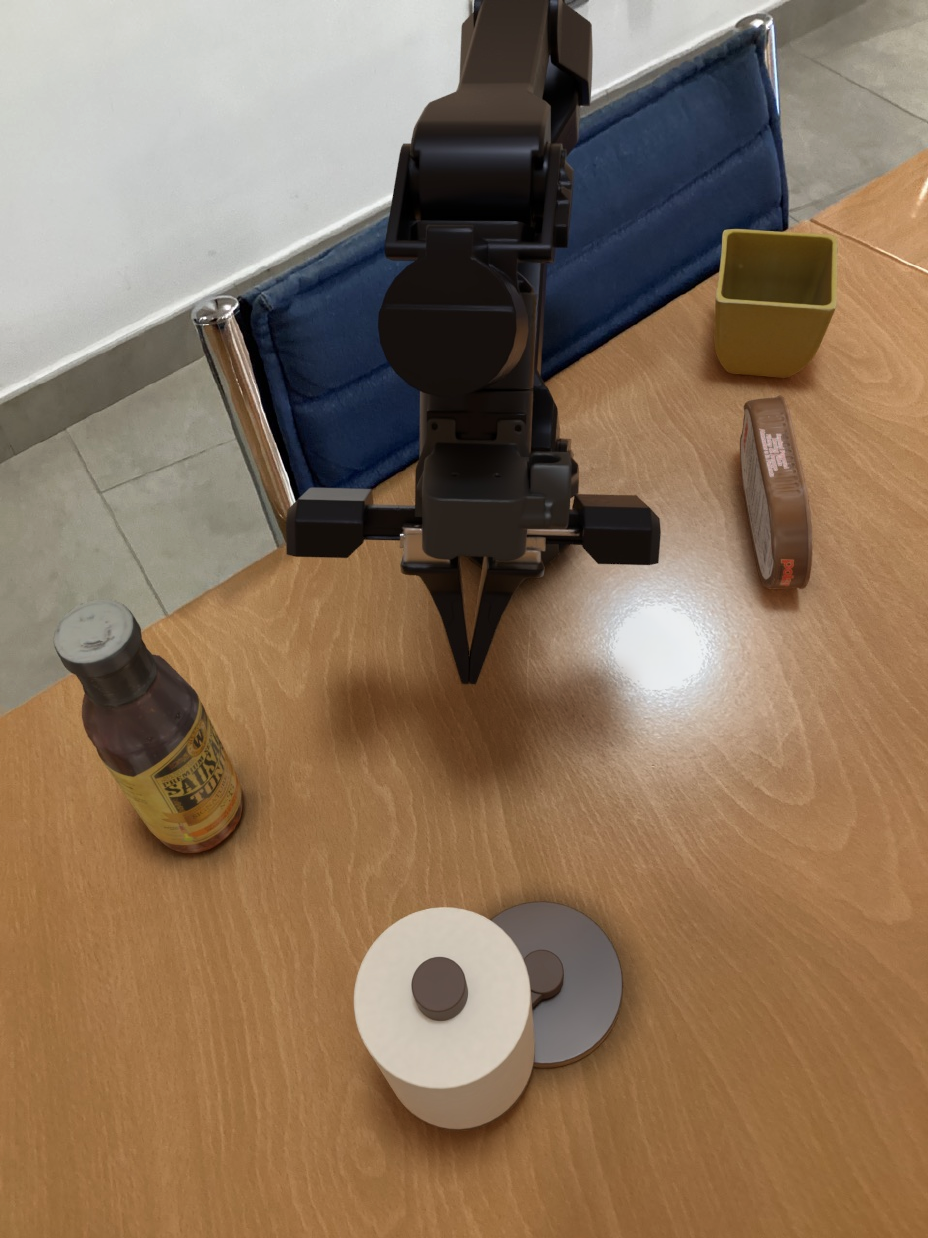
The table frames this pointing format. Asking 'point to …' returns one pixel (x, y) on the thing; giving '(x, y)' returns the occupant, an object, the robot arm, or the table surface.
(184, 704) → the sauce bottle
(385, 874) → the table surface
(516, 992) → the paper towel roll
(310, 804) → the table surface
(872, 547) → the table surface
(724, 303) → the flower pot
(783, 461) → the tin
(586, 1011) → the swivel base
